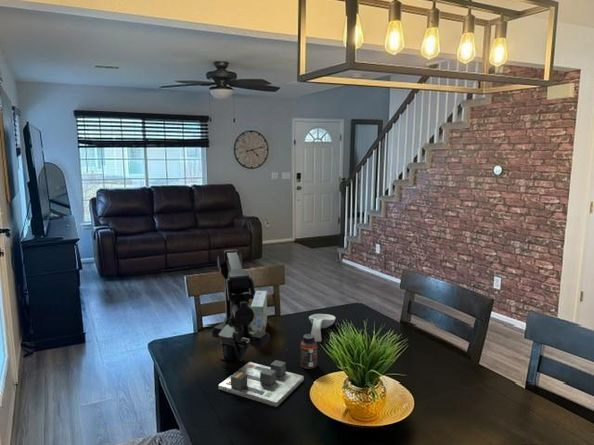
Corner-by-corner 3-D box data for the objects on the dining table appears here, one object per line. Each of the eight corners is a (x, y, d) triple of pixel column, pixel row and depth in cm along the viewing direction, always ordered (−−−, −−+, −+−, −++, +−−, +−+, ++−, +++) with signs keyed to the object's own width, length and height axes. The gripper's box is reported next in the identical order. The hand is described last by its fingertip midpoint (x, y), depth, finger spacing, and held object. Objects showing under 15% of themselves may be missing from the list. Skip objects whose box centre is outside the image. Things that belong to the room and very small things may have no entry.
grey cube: (230, 386, 144) (230, 375, 144) (237, 381, 147) (237, 371, 147) (241, 389, 142) (240, 378, 142) (247, 384, 145) (247, 374, 145)
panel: (218, 389, 146) (218, 384, 146) (249, 365, 162) (249, 361, 161) (276, 407, 136) (276, 402, 135) (303, 380, 151) (303, 375, 151)
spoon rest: (311, 319, 205) (311, 304, 204) (336, 321, 203) (336, 306, 202) (302, 341, 182) (302, 324, 181) (330, 343, 180) (330, 326, 179)
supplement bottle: (315, 370, 158) (315, 340, 156) (299, 368, 159) (299, 338, 157) (318, 362, 164) (318, 333, 162) (302, 361, 165) (302, 332, 163)
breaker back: (270, 373, 152) (270, 364, 152) (275, 369, 155) (275, 360, 155) (280, 376, 150) (280, 366, 150) (285, 372, 153) (285, 362, 153)
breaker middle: (260, 382, 147) (260, 372, 146) (265, 377, 150) (265, 368, 149) (270, 385, 145) (270, 375, 144) (276, 380, 148) (276, 370, 147)
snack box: (263, 341, 182) (263, 306, 179) (250, 341, 182) (249, 306, 179) (267, 321, 203) (267, 290, 200) (255, 321, 203) (254, 289, 200)
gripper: (199, 316, 138) (201, 364, 140) (250, 327, 129) (251, 378, 131) (221, 305, 147) (223, 350, 150) (270, 315, 139) (271, 362, 141)
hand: (241, 360), depth 143 cm, fingers closed
